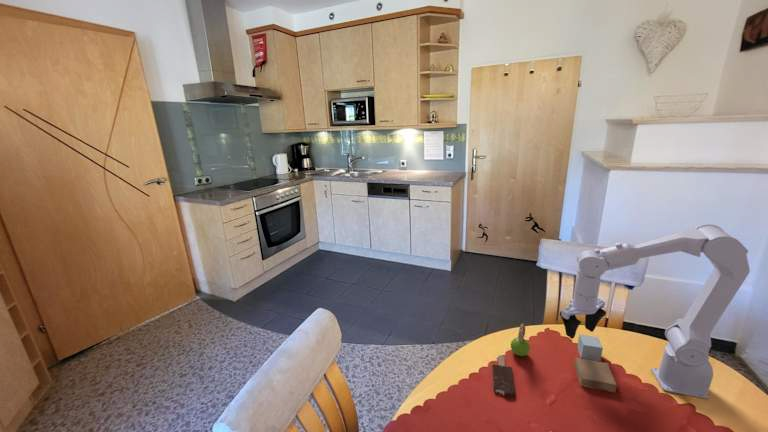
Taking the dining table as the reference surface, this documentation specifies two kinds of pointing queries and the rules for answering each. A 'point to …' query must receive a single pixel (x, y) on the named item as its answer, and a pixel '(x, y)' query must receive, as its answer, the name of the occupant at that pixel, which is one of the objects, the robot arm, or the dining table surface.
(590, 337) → the slate-blue cube
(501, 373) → the ice cream bar
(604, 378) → the walnut block
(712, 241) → the robot arm
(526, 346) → the green candy apple
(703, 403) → the dining table surface
